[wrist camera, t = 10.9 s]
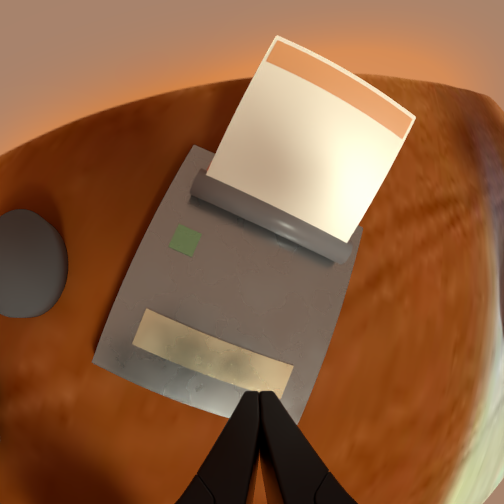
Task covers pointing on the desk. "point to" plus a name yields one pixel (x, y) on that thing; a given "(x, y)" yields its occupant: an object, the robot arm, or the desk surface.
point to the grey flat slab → (222, 306)
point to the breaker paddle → (305, 150)
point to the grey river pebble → (30, 264)
